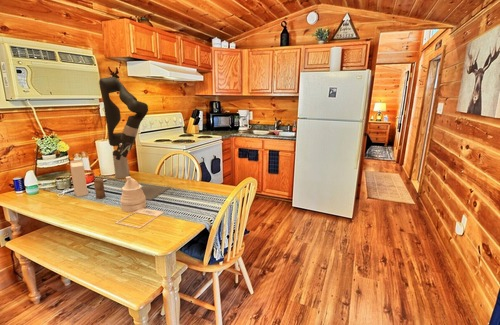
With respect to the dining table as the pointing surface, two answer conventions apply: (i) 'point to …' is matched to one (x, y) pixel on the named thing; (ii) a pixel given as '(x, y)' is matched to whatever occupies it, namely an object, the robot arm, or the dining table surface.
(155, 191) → the slate mat
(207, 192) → the dining table surface
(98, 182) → the walnut peg
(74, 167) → the milk
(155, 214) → the photo frame
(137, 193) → the honey pot
